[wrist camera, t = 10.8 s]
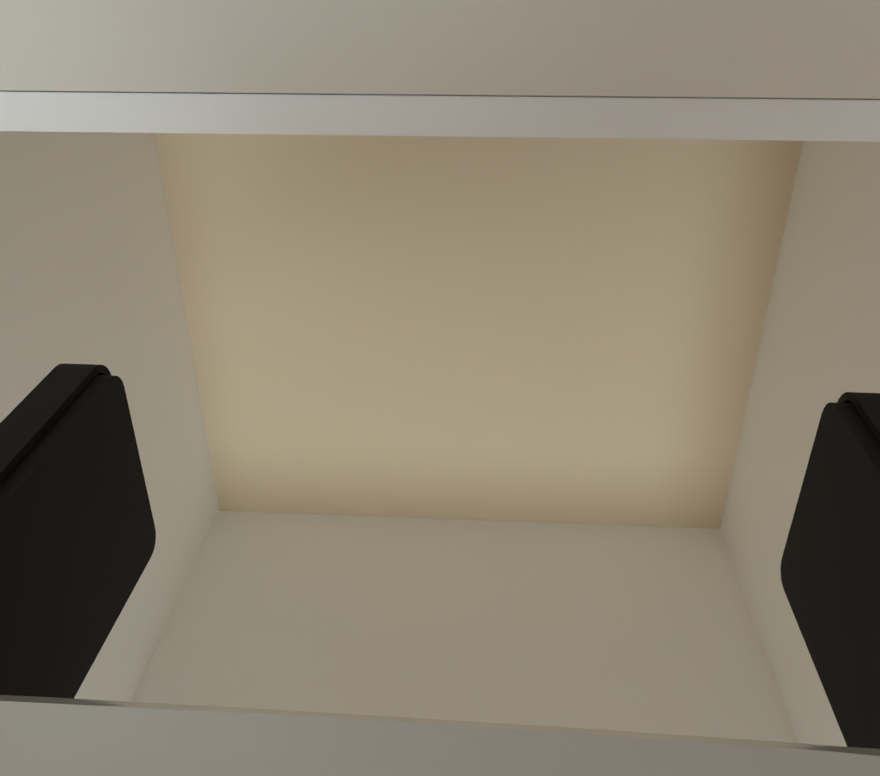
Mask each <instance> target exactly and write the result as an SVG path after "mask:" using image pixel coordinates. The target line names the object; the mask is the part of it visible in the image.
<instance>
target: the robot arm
mask: <svg viewBox="0 0 880 776" xmlns="http://www.w3.org/2000/svg"><path fill="white" fill-rule="evenodd" d="M155 541H156V530H155V525H154V520H153V515H152V511H151V506H150V502H149V497H148V493H147V488H146V483H145V479H144V474H143V470H142V465H141V461H140V456H139V451H138V447H137V442H136V438H135V433H134V429H133V424H132V419H131V415H130V410H129V406H128V401H127V397H126V392H125V387H124V384H123V381H122V380H121V378H120V377H118V376H112V375H111V373H110V371H109V370H108V368H107V367H106V366H104V365H95V364H67V363H63V364H59V365H57V366H56V367H55V368H54V369H53V370H52V371H51V372H50V373H49V374H48V375H47V376H46V377H45V378H44V379H43V380H42V381H41V382H40V383H39V384H38V385H37V386H36V387H35V388H34V389H33V390H32V391H31V392H30V393H29V394H28V395H27V396H26V397H25V398H24V399H23V400H22V401H21V402H20V403H19V404H18V405H17V406H16V407H15V408H14V409H13V410H12V412H11V413H10V414H9V415H8V416H7V417H6V418H5V419H4V420H3V421H2V422H1V423H0V776H880V393H860V392H845V393H844V394H842V395H841V397H840V398H839V399H838V402H837V403H834V402H829V403H828V404H826V406H825V407H824V409H823V412H822V414H821V418H820V422H819V425H818V429H817V432H816V436H815V440H814V443H813V447H812V451H811V454H810V458H809V461H808V465H807V469H806V472H805V476H804V480H803V483H802V487H801V490H800V494H799V498H798V501H797V505H796V509H795V512H794V516H793V520H792V523H791V527H790V530H789V534H788V538H787V541H786V545H785V549H784V552H783V556H782V560H781V570H780V571H781V581H782V586H783V589H784V591H785V594H786V596H787V599H788V601H789V604H790V606H791V609H792V611H793V614H794V616H795V619H796V621H797V624H798V626H799V629H800V631H801V633H802V636H803V638H804V641H805V643H806V646H807V648H808V651H809V653H810V656H811V658H812V661H813V663H814V666H815V668H816V671H817V673H818V676H819V678H820V680H821V683H822V685H823V688H824V690H825V693H826V695H827V698H828V700H829V703H830V705H831V708H832V710H833V713H834V715H835V718H836V720H837V723H838V725H839V727H840V730H841V732H842V735H843V737H844V740H845V742H846V745H847V747H843V746H830V745H817V744H805V743H792V742H779V741H764V740H749V739H734V738H719V737H704V736H689V735H674V734H659V733H644V732H629V731H614V730H599V729H584V728H569V727H553V726H537V725H521V724H505V723H489V722H473V721H457V720H440V719H424V718H408V717H391V716H374V715H358V714H341V713H325V712H308V711H291V710H273V709H255V708H237V707H219V706H201V705H183V704H165V703H147V702H129V701H110V700H92V699H74V697H75V695H76V694H77V692H78V690H79V688H80V686H81V685H82V683H83V681H84V679H85V677H86V675H87V674H88V672H89V670H90V668H91V666H92V664H93V663H94V661H95V659H96V657H97V655H98V653H99V652H100V650H101V648H102V646H103V644H104V642H105V641H106V639H107V637H108V635H109V633H110V631H111V630H112V628H113V626H114V624H115V622H116V620H117V619H118V617H119V615H120V613H121V611H122V609H123V608H124V606H125V604H126V602H127V600H128V598H129V597H130V595H131V593H132V591H133V589H134V588H135V586H136V584H137V582H138V580H139V578H140V577H141V575H142V573H143V571H144V569H145V567H146V566H147V564H148V562H149V560H150V558H151V556H152V554H153V551H154V547H155Z"/></svg>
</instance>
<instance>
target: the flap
mask: <svg viewBox="0 0 880 776" xmlns="http://www.w3.org/2000/svg"><path fill="white" fill-rule="evenodd" d="M0 90H15V91H121V92H227V93H333V94H439V95H546V96H652V97H758V98H864V99H880V0H0Z"/></svg>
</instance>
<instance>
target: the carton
mask: <svg viewBox="0 0 880 776" xmlns="http://www.w3.org/2000/svg"><path fill="white" fill-rule="evenodd" d="M63 363H67V364H95V365H104V366H106V367H107V368H108V370H109V371H110V373H111V375H112V376H118V377H120V378H121V380H122V381H123V384H124V387H125V392H126V397H127V401H128V406H129V410H130V415H131V419H132V424H133V429H134V433H135V438H136V442H137V447H138V451H139V456H140V461H141V465H142V470H143V474H144V479H145V483H146V488H147V493H148V497H149V502H150V506H151V511H152V515H153V520H154V525H155V530H156V541H155V547H154V551H153V554H152V556H151V558H150V560H149V562H148V564H147V566H146V567H145V569H144V571H143V573H142V575H141V577H140V578H139V580H138V582H137V584H136V586H135V588H134V589H133V591H132V593H131V595H130V597H129V598H128V600H127V602H126V604H125V606H124V608H123V609H122V611H121V613H120V615H119V617H118V619H117V620H116V622H115V624H114V626H113V628H112V630H111V631H110V633H109V635H108V637H107V639H106V641H105V642H104V644H103V646H102V648H101V650H100V652H99V653H98V655H97V657H96V659H95V661H94V663H93V664H92V666H91V668H90V670H89V672H88V674H87V675H86V677H85V679H84V681H83V683H82V685H81V686H80V688H79V690H78V692H77V694H76V695H75V697H74V699H92V700H110V701H129V702H147V703H165V704H183V705H201V706H219V707H237V708H255V709H273V710H291V711H308V712H325V713H341V714H358V715H374V716H391V717H408V718H424V719H440V720H457V721H473V722H489V723H505V724H521V725H537V726H553V727H569V728H584V729H599V730H614V731H629V732H644V733H659V734H674V735H689V736H704V737H719V738H734V739H749V740H764V741H779V742H792V743H805V744H817V745H830V746H843V747H847V745H846V742H845V740H844V737H843V735H842V732H841V730H840V727H839V725H838V723H837V720H836V718H835V715H834V713H833V710H832V708H831V705H830V703H829V700H828V698H827V695H826V693H825V690H824V688H823V685H822V683H821V680H820V678H819V676H818V673H817V671H816V668H815V666H814V663H813V661H812V658H811V656H810V653H809V651H808V648H807V646H806V643H805V641H804V638H803V636H802V633H801V631H800V629H799V626H798V624H797V621H796V619H795V616H794V614H793V611H792V609H791V606H790V604H789V601H788V599H787V596H786V594H785V591H784V589H783V586H782V581H781V571H780V570H781V560H782V556H783V552H784V549H785V545H786V541H787V538H788V534H789V530H790V527H791V523H792V520H793V516H794V512H795V509H796V505H797V501H798V498H799V494H800V490H801V487H802V483H803V480H804V476H805V472H806V469H807V465H808V461H809V458H810V454H811V451H812V447H813V443H814V440H815V436H816V432H817V429H818V425H819V422H820V418H821V414H822V412H823V409H824V407H825V406H826V404H828V403H829V402H834V403H837V402H838V399H839V398H840V397H841V395H842V394H844V393H845V392H860V393H880V99H864V98H758V97H652V96H546V95H439V94H333V93H227V92H121V91H15V90H0V423H1V422H2V421H3V420H4V419H5V418H6V417H7V416H8V415H9V414H10V413H11V412H12V410H13V409H14V408H15V407H16V406H17V405H18V404H19V403H20V402H21V401H22V400H23V399H24V398H25V397H26V396H27V395H28V394H29V393H30V392H31V391H32V390H33V389H34V388H35V387H36V386H37V385H38V384H39V383H40V382H41V381H42V380H43V379H44V378H45V377H46V376H47V375H48V374H49V373H50V372H51V371H52V370H53V369H54V368H55V367H56V366H57V365H59V364H63Z"/></svg>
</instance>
